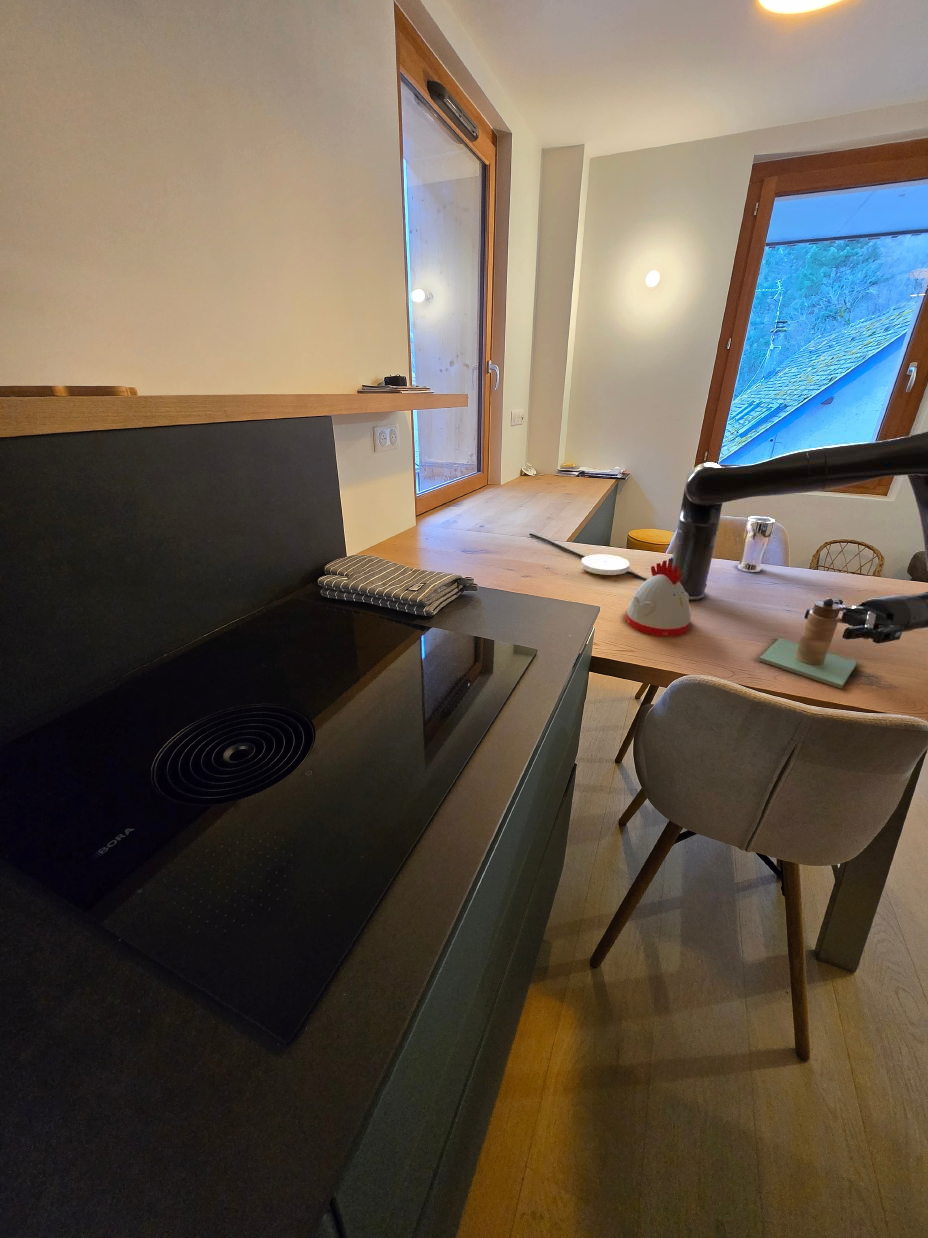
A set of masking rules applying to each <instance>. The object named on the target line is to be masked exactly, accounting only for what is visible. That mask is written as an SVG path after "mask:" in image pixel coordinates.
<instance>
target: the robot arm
mask: <svg viewBox="0 0 928 1238" xmlns="http://www.w3.org/2000/svg"><path fill="white" fill-rule="evenodd" d="M899 476H901V477H902V476H907V478H908V481H909V483H910V486H911V489H912V492H913V495H914V498H915V503H916V506H917V509H918V514H919V519H920V524H921V529H922V537H923V545H924V553H925V561H926V570H928V430H927V431H924V432H920V433H916V434H912V435H908V436H903V437H898V438H893V439H887V440H881V441H869V442H857V443H848V444H837V445H829V446H823V447H816V448H808V449H803V450H797V451H793V452H789V453H786V454H783V455H779V456H776V457H772V458H770V459H767V460H764V461H760V462H757V463H753V464H746V465H736V466H721V465H720V464H717V463H715V462H703V463H700V464H698V465H696V466H695V467H693V468H692V469H691V470H690V471H689V472H688V474H687V477H686V479H685V483H684V488H683V494H682V499H681V504H680V505H681V506H680V511H679V515H678V522H677V529H676V535H675V540H674V545H673V550H672V556H670V557H669V558H668V561H667V564H668V563H670V562H672V571H673V569H674V567H675V566H679V568H678V575H679V574H681V573H683V575H682V577H681V578H680V579H679V582H680V584H681V585H682V586H683V588H684V590H685V592H687V593H688V595H689V601H696V600H697V601H698V600H701V599H703V598H704V596H705V591H706V588H707V585H708V584H707V582H708V577H709V572H710V568H711V565H712V559H713V554H714V550H715V545H716V541H717V537H718V536H717V535H718V532H719V526H720V522H721V513H722V508H723V505H724V503H725V504H726V503H728V502H729V503H730V502H734V501H739V500H743V499H744V500H745V499H749V498H757V497H770V496H783V495H793V494H795V495H797V494H806V493H815V492H822V491H823V492H824V491H829V490H835V489H840V488H844V487H849V486H853V485H857V484H861V483H865V482H868V481H873V480H877V479H878V480H879V479H881V478H882V479H883V478H889V477H899ZM528 535H529V536H530V537H533V538H536V539H538V540H541V541H543V542H546V543H547V544H551V545H552V546H554V547H557V548H559V549H561V550H563V551H565V552H568V553H570V554H572V555H574V556H577V557H578V558H581V559H582V558H583V557H585V556H586V555H583V554H581V553H579V552H576V551H574V550H572V549H569V548H568V547H565V546H563V545H561V544H558V543H556V542H554V541H552V540H550V539H547V538H545V537H543V536H540V535H537V534H533V533H531V532H530V533H529V534H528ZM624 574H627V575H630V576H632V577H635V578H637V579H639V580H643V581H644V582H645V581H646V580H648V579H649V578H645V577H643V576H641V575H639V574H637V573H635V572H633V571H630V570H628V571H627V572H625V573H624ZM833 601H834V603H836V604H838V605H839V606H840V607H841V608H840V611H839V613H840V612H842V615H841V617H840V619H839V621H838V624H844V625H848V626H849V627H846V628H845V629H844V631H843V633H842V637H841V638H842V639H844V640H845V641H846V640H847V641H848V640H858V639H863V640H869V639H871V640H872V642H873V643H875V644H884V643H890V642H893V641H898V640H901V637H902V634H903V633H907V632H910V631H914V630H920V629H928V591H924V592H922V593H915V594H907V595H906V594H898V595H897V594H896V595H889V596H888V595H887V596H880V597H874V598H868V599H866V600H864V601H862V602H861V603H860V604H858V605H846V604H845V605H844V600H843V599H839V598H838V599H833ZM813 608H814V607H813ZM813 608H806V611H805V614H804V619H805V620H807V618H808V615H809V612H810V610H813Z"/></svg>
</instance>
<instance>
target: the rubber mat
mask: <svg viewBox="0 0 928 1238" xmlns="http://www.w3.org/2000/svg"><path fill="white" fill-rule="evenodd" d="M798 646H799V642H795V641H792V640H788V639H785V638H781V637H779V638H778V639H777V640H776V641H775V642H774V643H773V644H772V645H771V646H769V648H767V650H766V651H765V652H764V653H763V654H762V655H761V656H760V657H759V662H762V663H764V664H767V665H769V666H770V665H771V666H773V667H777V668H780V669H782V670H785V671H788V672H791V673H793V674H797V675H800V676H803V677H805V678H809V679H811V680H815V681H817V682H820V683H824V684H827V685H830V686H832V687H835V688H838V689H842V688H843V686H844V685H845V684H846V682H847V681H848V679H849V678H850V676H851V674H852V673H853V671H854V670H855V668H856V666H857V665H858V661H857V660H854V659H850V658H847V657H844V656H841V655H839V654H834V653H831V652H829V651H828V652H827V655H826V657H825V660H824V663H823V664H822V665H818V666H816V665H809V664H805V663H803V662H800V661H799V660H797V659H796V657H795V655H796V652H797V649H798Z"/></svg>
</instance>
